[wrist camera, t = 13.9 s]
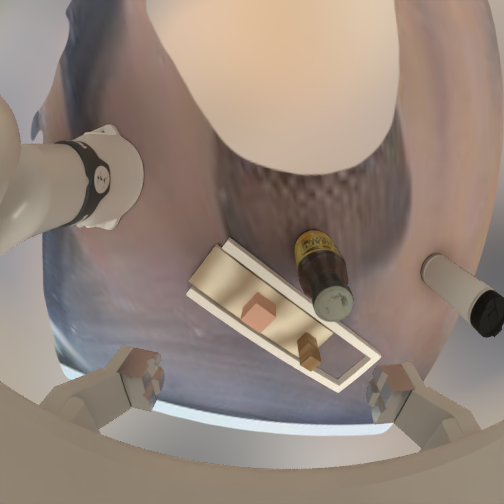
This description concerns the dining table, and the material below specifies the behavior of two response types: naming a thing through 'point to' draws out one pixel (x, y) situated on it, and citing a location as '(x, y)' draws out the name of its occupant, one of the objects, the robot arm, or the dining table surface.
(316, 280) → the sauce bottle
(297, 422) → the dining table surface
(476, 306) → the travel mug
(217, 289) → the pale strip
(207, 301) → the guide rails
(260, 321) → the terracotta block
